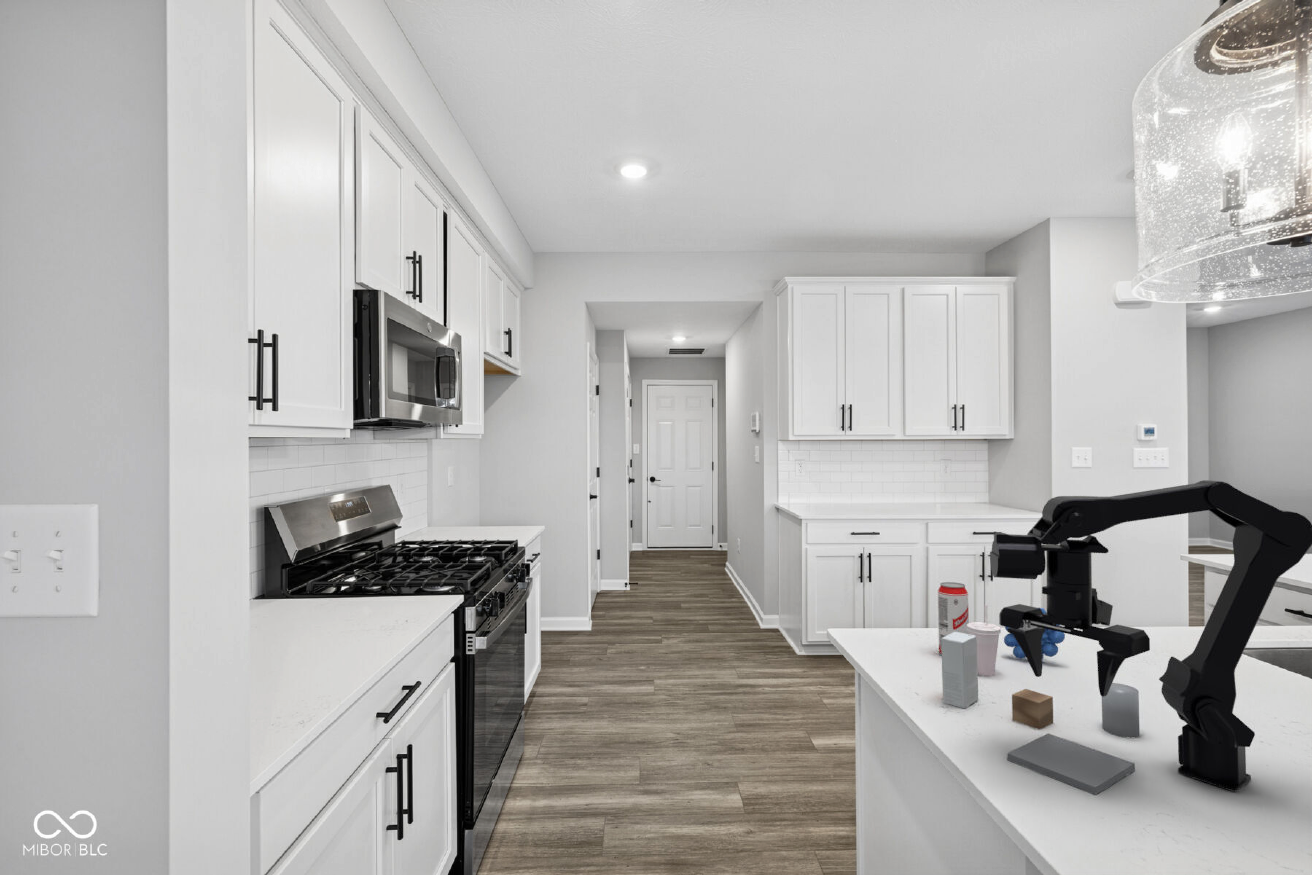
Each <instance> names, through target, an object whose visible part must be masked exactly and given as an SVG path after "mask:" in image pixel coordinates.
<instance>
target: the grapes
mask: <svg viewBox="0 0 1312 875" xmlns="http://www.w3.org/2000/svg"><path fill="white" fill-rule="evenodd" d="M1039 608H1040V609H1041V610H1042V612H1043V614H1045V613H1047V610H1045V608H1042V607H1039ZM1057 625H1058V624H1057ZM1058 626H1061V625H1058ZM1004 628H1005V630H1006V631H1007V629H1008V628H1009V627H1005V626H1004ZM1065 638H1066V633H1062V632H1058V631H1054V630H1050V629H1045V631H1044V634H1043V636H1042V640H1041V643H1042V660H1043V659H1044V656H1046V657H1050V658H1052V657H1054V656H1056V655H1057V654H1058V653H1059V646H1058V644H1061V643H1063V642H1064V641H1065ZM1003 643H1004V644H1005V645H1006V646H1007V647H1009V648H1012V649H1013V650H1012V654H1013V656H1014V658H1016V659H1020V660H1022V659H1024V658H1026V656H1025V654H1024V652H1023V650H1022V649H1021V647H1020V645H1019V644H1018V642H1017V640H1016V639H1015V637H1014V636H1013V634H1012V633H1009V632H1008V631H1007V634H1006V635H1005V636H1004V637H1003Z"/></svg>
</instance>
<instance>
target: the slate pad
mask: <svg viewBox="0 0 1312 875" xmlns="http://www.w3.org/2000/svg"><path fill="white" fill-rule="evenodd" d="M1006 759H1007V761H1009V762H1012V763H1015V764H1017V765H1019V766H1022V767H1024V768H1027V769H1029V770H1031V771H1034V772H1037V773H1039V774H1043V775H1045V776H1047V777H1048V778H1049V777H1050V778H1052V779H1055V780H1057V781H1059V782H1063V783H1065V784H1067V785H1069V786H1072V787H1074V788H1076V789H1080V790H1082V791H1084V792H1087V793H1090V794H1092V795H1095V796H1096V795H1098V794H1099V793H1101V792H1103V791H1104V790H1106V789H1107V788H1109V787H1111V786H1112V785H1113V784H1116V783H1117V782H1119V781H1120V780H1122V779H1124V778H1125V777H1127V776H1128V775H1129V773H1130V774H1131V773H1132V772H1135V771H1136V763H1135V762H1132V761H1129V760H1126V759H1124V758H1122V757H1117V756H1115V755H1112V754H1109V753H1106V752H1103V751H1100V750H1098V749H1095V748H1092V747H1089V746H1086V745H1083V744H1080V743H1077V742H1074V741H1072V740H1069V739H1066V738H1063V737H1060V736H1057V735H1054V734H1051V733H1049V732H1048V733H1046V734H1044V735H1041V736H1039V737H1037V738H1035V739H1033V740H1031V741H1029V742H1027V743H1025V744H1023V745H1021V746H1019V747H1017V748H1014V749H1011V751H1009V752H1006Z"/></svg>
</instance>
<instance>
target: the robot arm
mask: <svg viewBox="0 0 1312 875" xmlns="http://www.w3.org/2000/svg"><path fill="white" fill-rule="evenodd" d="M1206 511H1209V513H1211V514H1213V515H1214V516H1215V517H1217V518H1218V519H1219V520H1221V521H1222V522H1224V523H1226V524H1227V525H1229V526H1230V527H1232V528H1234V534H1233V537H1232V549H1233V560H1234V561H1233V562H1234V563H1233V566H1232V568H1231V570H1230V572H1229V574H1228V576H1227V578H1226V581H1225V582H1224V585H1223V588H1222V589H1221V592H1220V594H1219V596H1218V598H1217V601H1216V602H1215V604H1214V607H1213V608H1212V611H1211V614H1210V616H1209V618H1208V620H1207V622H1206V624H1205V626H1204V629H1203V631H1202V633H1201V635H1200V637H1199V640H1198V641H1197V644H1196V646H1195V647H1194V650H1193V651H1192V653H1191V654H1189V655H1187V656H1186V657H1185V658H1184V659H1182V660H1179V659H1178V658H1176V657H1175V656H1171V657H1170V658H1169V660H1168V662H1167V666H1166V670H1165V672H1164V674H1163V675H1161V676H1160V677H1159V678H1158V680H1159V681H1160V682H1162V685H1161V689H1160V691H1161V695H1162V697H1163V698H1164V700H1165V702H1166V703H1167V704H1168V705H1169V706H1170V708H1172V709H1173V710H1174V711H1176V713H1177V716H1178V718H1179V719H1180V720H1181V721H1183V722H1185V723H1186V724H1184V725H1183V726H1182V727H1181V734H1179V735H1178V736H1177V746H1178V747H1177V748H1178V750H1177V753H1178V754H1177V755H1178V763H1179V765H1180V766H1179V767H1178V769H1177V773H1179V774H1181V775H1184V776H1187V777H1191V778H1192V779H1196V780H1199V781H1202V782H1205V783H1207V784H1211V785H1213V786H1217V787H1220V788H1222V789H1226V790H1229V791H1232V792H1237V791H1239V790H1240V789H1242V787H1243V786H1245V785H1246V784H1247V783H1248V782H1250V781H1251V780H1252V775H1250V774H1249V773H1247V760H1246V757H1247V754H1246V748H1248V747H1250V746H1251V745H1252V742H1253V740H1254V738H1255V736H1256V735H1255V731H1254V730H1252V729H1251V728H1250V727H1249V726H1248V725H1247V724H1246V723H1244V722H1243V721H1242V720H1241V719H1240V718H1239V717H1237V715H1236V714H1234V707H1235V705H1236V704H1235V703H1236V699H1237V689H1236V688H1237V687H1236V674H1235V672H1236V669H1237V666H1238V664H1239V662H1240V659H1241V658H1242V656H1243V654H1244V652H1245V650H1246V647H1247V645H1248V643H1249V641H1250V638H1251V636H1252V635H1253V632H1254V630H1255V628H1256V625H1257V623H1258V621H1259V620H1260V618H1261V614H1262V612H1263V610H1264V609H1265V606H1266V604H1267V602H1268V600H1269V598H1270V596H1271V594H1272V592H1273V589H1274V587H1275V585H1276V583H1277V581H1278V579H1279V578H1280V577H1281V576H1282V575H1284V574H1285V573H1287V572H1288V571H1290V570H1291V569H1292V568H1293V567H1295V566H1297V564H1299V563H1300V561H1302V559H1303V557H1305V555H1306V554H1307V552H1308V551H1309V550H1310V548H1311V547H1312V522H1311V521H1310V520H1309V519H1308V518H1307V517H1306V516H1305V515H1302V514H1300V513H1298V512H1294V511H1289V510H1283V509H1279V508H1277V507H1276V506H1274V505H1271V504H1269V503H1268V502H1264V501H1262V500H1261V499H1258V498H1257V497H1253V496H1252V495H1249V494H1247V493H1245V492H1243V491H1242V490H1240V489H1238V488H1236V487H1234V486H1233V485H1231V484H1229V483H1228V482H1226V481H1218V480H1209V479H1208V480H1200V481H1197V482H1195V483H1189V484H1184V485H1176V486H1172V487H1170V486H1169V487H1163V488H1157V489H1151V490H1144V491H1138V492H1137V491H1136V492H1131V493H1124V494H1119V495H1111V496H1096V495H1095V496H1092V495H1072V496H1071V495H1059V496H1055V497H1053V498H1050V499H1048V500H1047V502H1046V503H1045V504H1044V506H1043V507H1042V511H1041V514H1042V515H1041V517H1040V518H1039V519H1038V520H1037V522H1036V523H1035V524H1034V525H1033V526H1032V528H1031V529H1030V530H1029V531H1028V533H1027V534H1009V533H1005V532H994V534H993V541H992V543H991V544H992V545H991V550H990V551H989V559H990V560H989V561H990V570H991V574H992V576H993V578H1001V579H1017V580H1018V579H1022V580H1037V579H1038V576H1042V575H1043V574H1044V573H1045V570H1046V585H1045V586H1042V587H1041V594H1042V595H1046V612H1047V613H1045V614H1043V612H1042V610H1041V609H1040V608H1041V607H1035V606H1031V605H1026V604H1020V603H1018V604H1013V605H1009V606H1005V607H1003V608H1002V609H1001V610H1000V612H999V613H998V614H999V616H998V617H999V618H998V619H999V621H998V622H999V624H998V625H999V626H1002V627H1004V628H1005V627H1009V628H1008V629H1007V630H1006V631H1008V632H1007V633H1008V634H1009V633H1012V634H1013V636H1014V637H1015V639H1016V640H1017V642H1018V644H1019V645H1020V647H1021V649H1022V650H1023V652H1024V654H1025V656H1026V657H1025V658H1026V660H1027V662H1028V664H1029V665H1030V667H1031V669H1032V672H1033V674H1034V675H1035V677H1037V678H1040V677H1042V675H1043V659H1042V643H1041V640H1042V636H1043V634H1044V631H1045V629H1050V630H1054V631H1058V632H1062V633H1064V634H1068V635H1072V636H1075V637H1076V636H1077V637H1080V638H1084V639H1089V640H1092V641H1097V642H1098V645H1099V646H1100V647H1101V648H1102V649H1101V650H1098V651H1096V659H1097V660H1096V662H1097V682H1098V690H1099V694H1100V696H1101V697H1102V696H1103V697H1104V696H1106V695H1107V694H1108V692H1109V689H1110V687H1111V685H1112V683H1114V680H1115V678H1116V675H1117V674H1118V671H1119V669H1120V668H1121V666H1122V665H1123V663H1124V662H1125V660H1126V659H1129V658H1133V657H1134V656H1138V655H1140V654H1143V653H1147V652H1148V651H1150V650H1151V646H1150V640H1151V639H1150V636H1149V635H1148V634H1147V632H1146V631H1145V629H1141V628H1135V627H1131V626H1126V625H1121V624H1114V625H1111V621H1112V620H1111V619H1112V615H1113V614H1112V613H1113V607H1114V605H1113V604H1110V603H1109V602H1106V601H1104V600H1101V599H1098V591H1097V588H1094V587H1093V581H1092V580H1093V578H1092V575H1093V574H1092V573H1093V572H1092V566H1093V565H1092V554H1108V553H1109V548H1107V547H1106V546H1104V545H1103V544H1102V543H1101V542H1100V541H1099V540H1098V539H1097V537H1096V536H1094V535H1095V534H1098V533H1100V532H1104V531H1106V530H1108V529H1110V528H1111V529H1112V527H1113V528H1114V526H1117V525H1120V524H1123V523H1129V522H1137V521H1142V520H1150V519H1151V520H1152V519H1157V518H1164V517H1171V516H1172V517H1173V516H1177V515H1185V514H1190V513H1198V512H1206ZM1084 537H1085V538H1084ZM1070 538H1071V539H1070ZM1080 538H1083V539H1080ZM1057 624H1058V625H1060V626H1058V625H1057ZM1093 625H1102V626H1108V627H1104V628H1102V627H1099V626H1093Z"/></svg>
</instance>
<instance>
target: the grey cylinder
mask: <svg viewBox="0 0 1312 875" xmlns="http://www.w3.org/2000/svg"><path fill="white" fill-rule="evenodd" d="M1139 699H1140V693H1139V690H1138V689H1137V688H1135V687H1133V686H1130V685H1128V684H1124V683H1123V684H1122V683H1116V682H1112V685H1111V687H1110V689H1109V692H1108V694H1107V695H1106V696H1104V697H1103V696H1101V723H1102V727H1101V728H1102V729H1104V730H1103V731H1104V732H1106V733H1108V734H1110V735H1113V736H1118V737H1120V738H1126V737H1130V738H1129V739H1132V738H1131V737H1135V738H1138V737H1140V734H1141V733H1140V700H1139Z"/></svg>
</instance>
